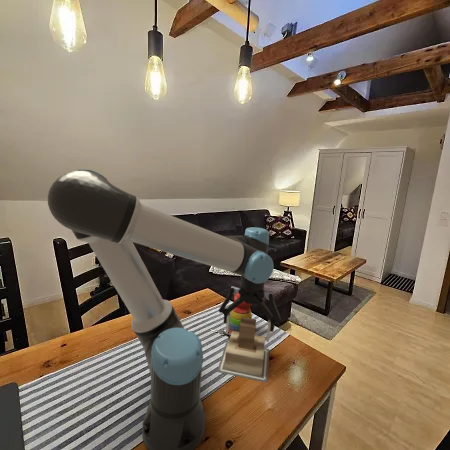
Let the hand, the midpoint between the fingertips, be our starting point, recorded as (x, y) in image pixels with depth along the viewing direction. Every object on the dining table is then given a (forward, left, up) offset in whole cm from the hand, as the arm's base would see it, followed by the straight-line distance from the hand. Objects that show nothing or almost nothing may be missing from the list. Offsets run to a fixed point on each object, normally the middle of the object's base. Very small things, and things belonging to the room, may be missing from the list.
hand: (247, 335), depth 86 cm
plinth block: (0, 0, -9) cm, 9 cm away
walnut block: (0, 0, -3) cm, 3 cm away
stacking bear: (+15, +4, -10) cm, 18 cm away
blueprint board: (0, 0, -10) cm, 10 cm away
